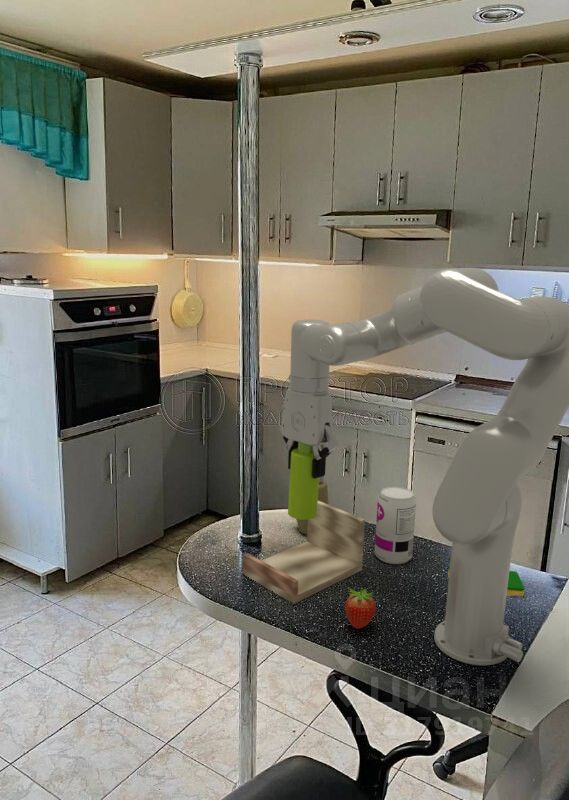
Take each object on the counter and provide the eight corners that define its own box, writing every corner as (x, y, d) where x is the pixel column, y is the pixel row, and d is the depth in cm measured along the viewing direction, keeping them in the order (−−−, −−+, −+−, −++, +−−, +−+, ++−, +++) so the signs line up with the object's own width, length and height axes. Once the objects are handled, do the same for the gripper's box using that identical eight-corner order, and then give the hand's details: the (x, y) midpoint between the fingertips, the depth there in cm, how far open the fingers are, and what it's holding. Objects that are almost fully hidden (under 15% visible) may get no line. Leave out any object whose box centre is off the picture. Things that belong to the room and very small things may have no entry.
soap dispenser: (321, 521, 131) (328, 424, 126) (286, 518, 131) (292, 422, 126) (322, 509, 136) (329, 416, 131) (289, 506, 137) (294, 413, 132)
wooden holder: (361, 570, 139) (364, 519, 136) (293, 603, 125) (295, 548, 122) (310, 545, 149) (312, 498, 146) (242, 574, 136) (243, 522, 133)
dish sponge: (523, 599, 130) (525, 588, 129) (451, 593, 131) (452, 582, 130) (515, 581, 136) (516, 570, 136) (447, 576, 138) (448, 565, 137)
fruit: (358, 617, 121) (360, 577, 119) (379, 629, 117) (382, 589, 116) (337, 627, 118) (339, 586, 116) (359, 640, 114) (361, 598, 112)
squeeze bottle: (301, 540, 152) (303, 465, 148) (290, 525, 159) (292, 454, 155) (333, 535, 155) (337, 462, 150) (321, 522, 162) (324, 452, 158)
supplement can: (373, 563, 142) (377, 498, 138) (375, 546, 150) (379, 484, 146) (411, 567, 140) (417, 501, 137) (411, 550, 148) (416, 487, 145)
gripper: (265, 379, 131) (263, 465, 135) (329, 395, 119) (325, 488, 123) (292, 374, 136) (289, 457, 141) (356, 389, 124) (351, 479, 128)
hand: (306, 471), depth 132 cm, fingers closed on soap dispenser, 6 cm apart
